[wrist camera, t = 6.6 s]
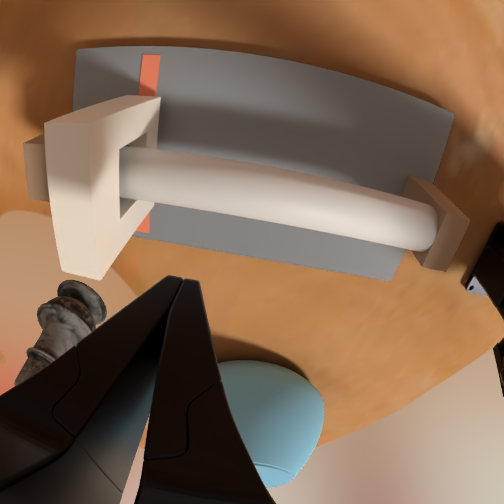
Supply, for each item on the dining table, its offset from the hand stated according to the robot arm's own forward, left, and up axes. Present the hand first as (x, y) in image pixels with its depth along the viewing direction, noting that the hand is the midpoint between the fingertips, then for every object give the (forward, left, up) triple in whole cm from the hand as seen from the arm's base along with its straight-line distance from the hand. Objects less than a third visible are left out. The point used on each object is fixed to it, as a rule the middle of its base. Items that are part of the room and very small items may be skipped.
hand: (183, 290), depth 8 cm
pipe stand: (-1, 0, -12) cm, 12 cm away
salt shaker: (+12, +15, -12) cm, 23 cm away
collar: (+5, 0, -10) cm, 11 cm away
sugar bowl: (-5, +24, -12) cm, 27 cm away
